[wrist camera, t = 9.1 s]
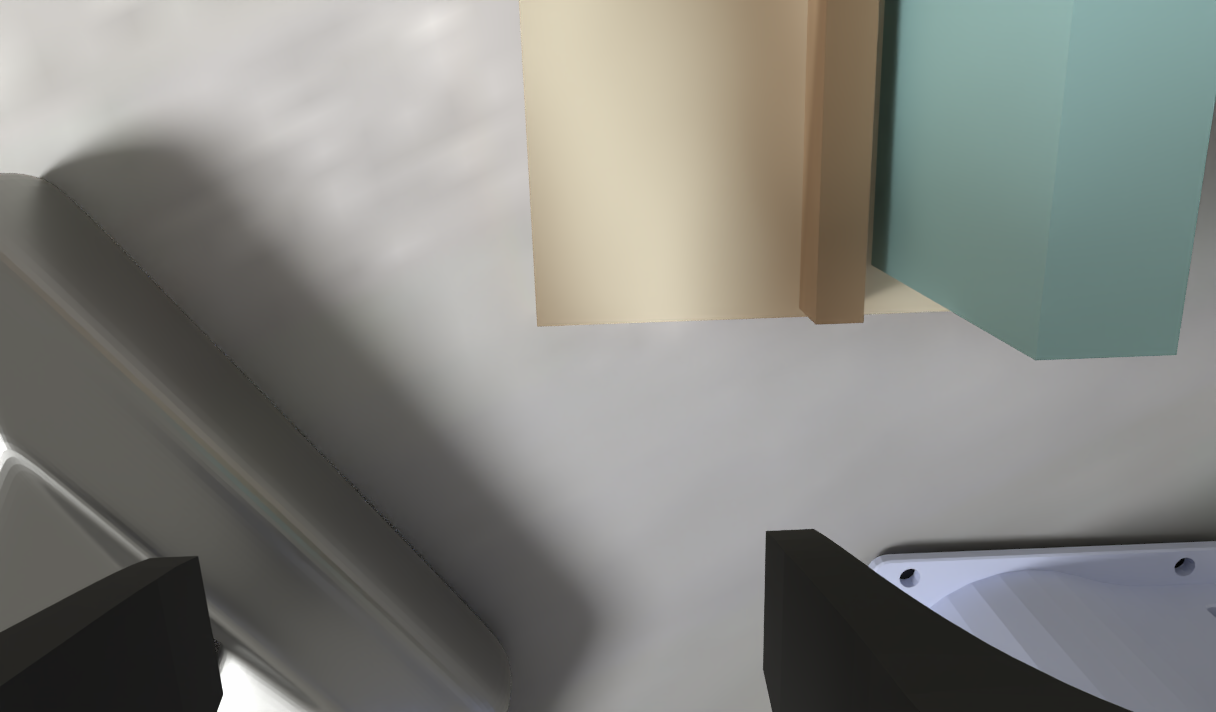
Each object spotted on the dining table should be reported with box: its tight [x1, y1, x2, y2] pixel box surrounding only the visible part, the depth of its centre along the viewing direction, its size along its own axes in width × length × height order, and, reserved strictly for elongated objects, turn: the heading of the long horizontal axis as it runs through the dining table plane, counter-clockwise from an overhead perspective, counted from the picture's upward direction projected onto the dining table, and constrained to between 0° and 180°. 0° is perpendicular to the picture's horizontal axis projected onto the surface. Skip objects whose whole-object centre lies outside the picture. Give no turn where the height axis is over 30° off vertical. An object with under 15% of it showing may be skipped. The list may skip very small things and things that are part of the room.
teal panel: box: [871, 0, 1216, 360], centre depth 15 cm, size 2×8×8 cm, turn 2°
